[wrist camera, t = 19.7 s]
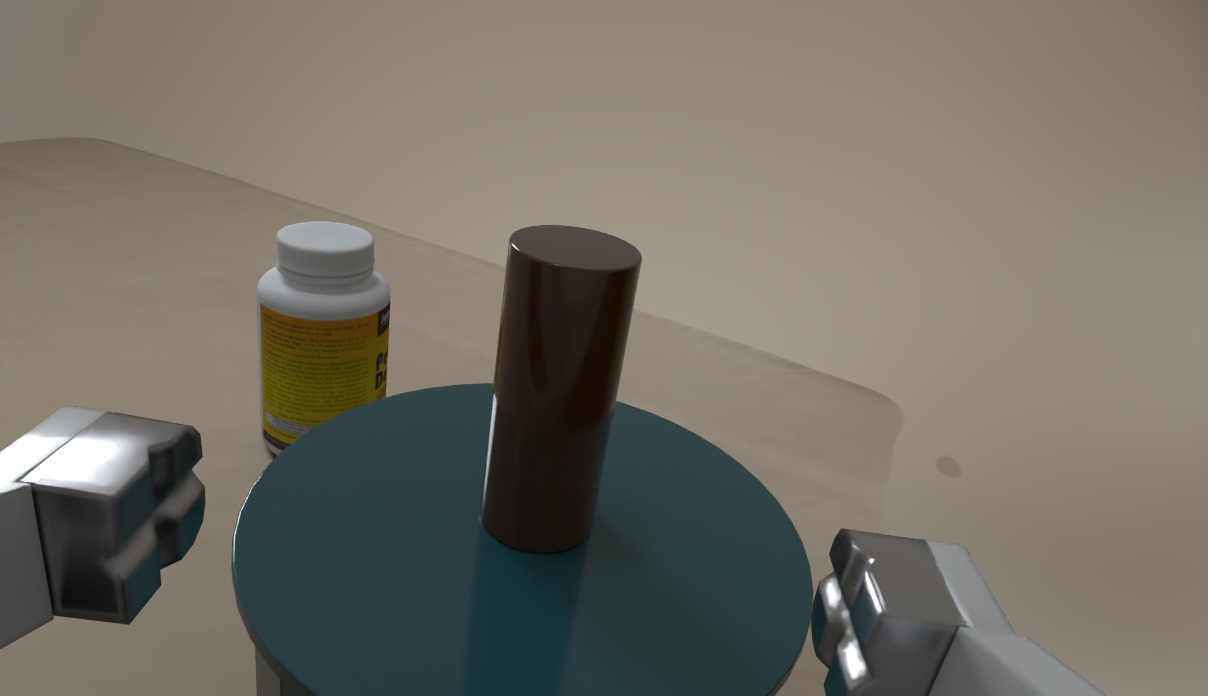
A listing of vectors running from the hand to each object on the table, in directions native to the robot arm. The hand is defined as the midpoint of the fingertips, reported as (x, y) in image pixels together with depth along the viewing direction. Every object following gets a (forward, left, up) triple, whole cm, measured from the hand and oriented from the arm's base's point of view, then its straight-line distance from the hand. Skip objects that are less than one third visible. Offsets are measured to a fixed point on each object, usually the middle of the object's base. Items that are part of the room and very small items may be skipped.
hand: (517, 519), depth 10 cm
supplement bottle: (+26, +5, -16) cm, 31 cm away
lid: (+9, -2, -7) cm, 11 cm away
